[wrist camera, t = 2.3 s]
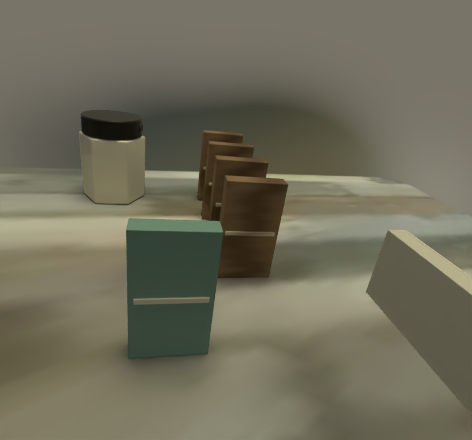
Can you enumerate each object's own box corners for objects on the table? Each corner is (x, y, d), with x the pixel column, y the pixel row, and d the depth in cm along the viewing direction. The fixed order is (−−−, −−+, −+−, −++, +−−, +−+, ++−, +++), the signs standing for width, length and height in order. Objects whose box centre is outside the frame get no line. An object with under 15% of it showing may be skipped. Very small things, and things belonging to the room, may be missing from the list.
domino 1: (198, 200, 53) (204, 132, 49) (197, 196, 55) (202, 129, 50) (234, 202, 55) (243, 136, 50) (232, 197, 56) (240, 133, 52)
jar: (152, 200, 51) (154, 121, 46) (100, 210, 46) (95, 122, 41) (126, 181, 57) (125, 109, 52) (77, 188, 52) (70, 109, 46)
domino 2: (202, 219, 47) (209, 144, 43) (201, 214, 49) (208, 140, 44) (242, 221, 49) (254, 147, 44) (240, 215, 50) (251, 144, 46)
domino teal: (128, 360, 25) (126, 231, 20) (130, 340, 26) (129, 217, 21) (207, 355, 26) (223, 233, 21) (205, 336, 28) (219, 220, 23)
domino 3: (208, 244, 41) (217, 159, 36) (206, 237, 43) (215, 154, 38) (254, 245, 43) (268, 163, 38) (250, 238, 44) (264, 158, 39)
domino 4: (215, 278, 35) (227, 181, 30) (213, 268, 37) (224, 174, 32) (269, 277, 36) (288, 185, 32) (264, 268, 38) (282, 178, 33)
